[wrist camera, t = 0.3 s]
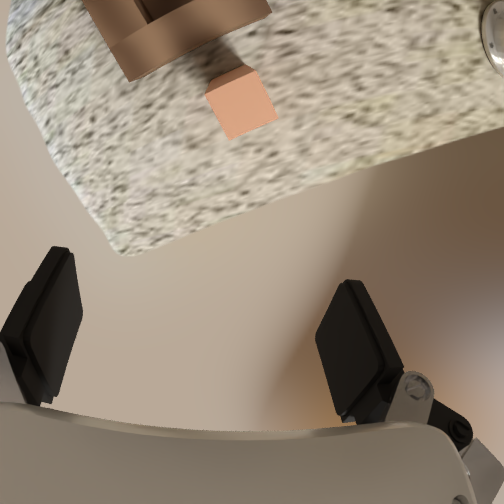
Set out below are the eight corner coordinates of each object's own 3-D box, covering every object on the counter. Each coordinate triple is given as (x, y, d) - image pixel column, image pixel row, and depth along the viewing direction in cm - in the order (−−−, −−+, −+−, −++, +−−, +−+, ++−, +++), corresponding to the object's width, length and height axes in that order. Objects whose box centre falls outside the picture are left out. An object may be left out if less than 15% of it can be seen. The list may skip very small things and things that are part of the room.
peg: (245, 64, 30) (255, 70, 20) (260, 96, 32) (278, 118, 22) (210, 80, 31) (204, 94, 21) (227, 111, 33) (229, 140, 23)
